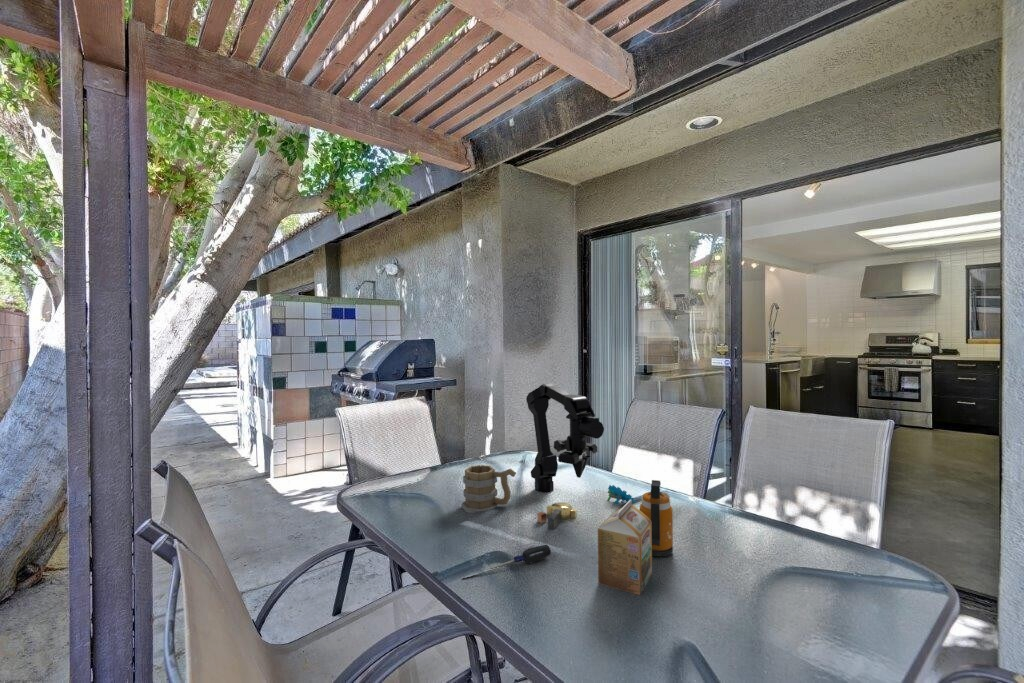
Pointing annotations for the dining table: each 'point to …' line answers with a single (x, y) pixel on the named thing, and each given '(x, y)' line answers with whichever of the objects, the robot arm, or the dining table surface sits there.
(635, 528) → the milk carton
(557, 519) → the gold lugged knob
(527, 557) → the screwdriver
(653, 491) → the canister
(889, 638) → the dining table surface
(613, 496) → the blue branched piece
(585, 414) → the robot arm
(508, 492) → the tankard
